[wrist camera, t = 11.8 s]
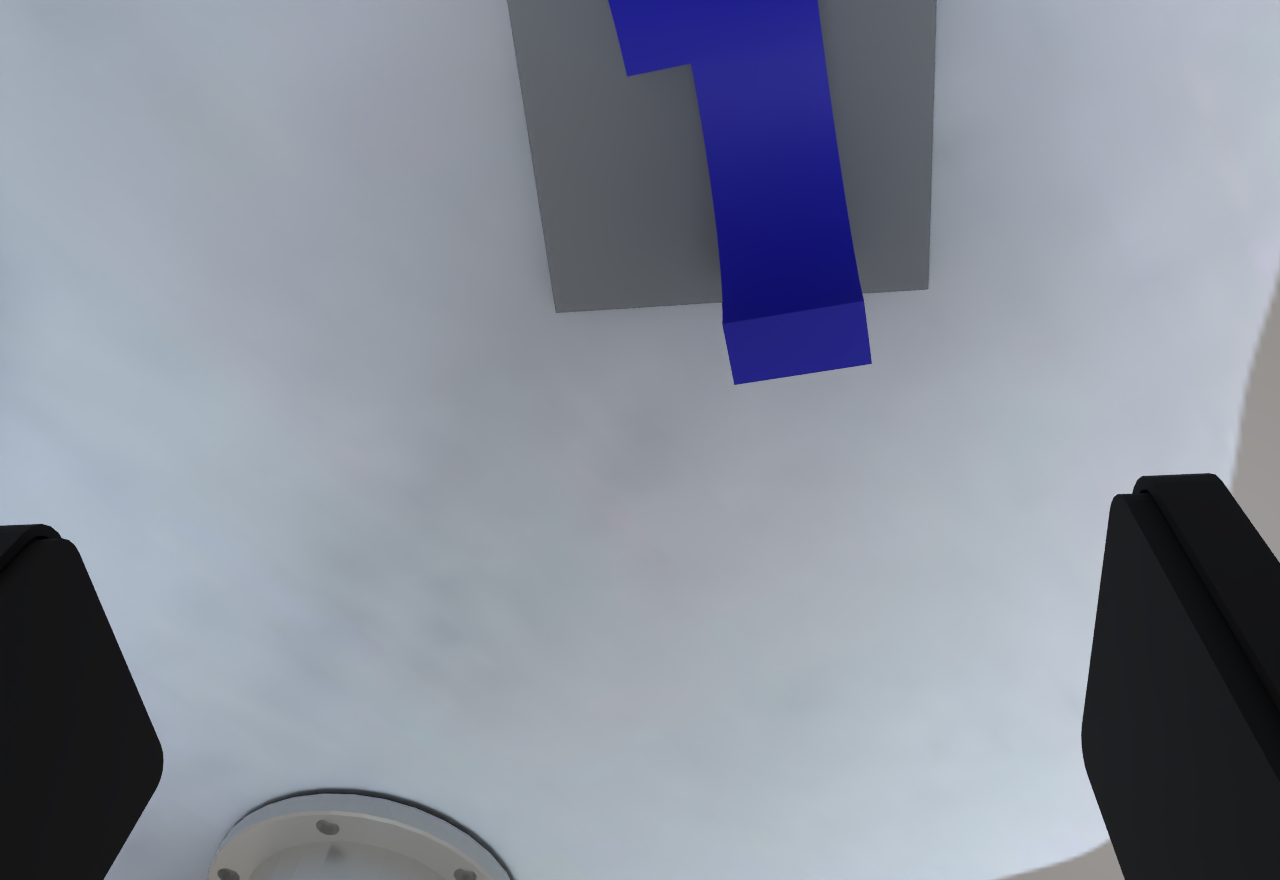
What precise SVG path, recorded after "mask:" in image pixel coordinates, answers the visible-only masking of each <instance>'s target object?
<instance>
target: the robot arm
mask: <svg viewBox="0 0 1280 880" xmlns="http://www.w3.org/2000/svg"><path fill="white" fill-rule="evenodd" d="M1081 739H1082V752H1083V758H1084V764H1085V768H1086V771H1087V775H1088V777H1089V780H1090V783H1091V786H1092V789H1093V791H1094V794H1095V797H1096V800H1097V803H1098V805H1099V808H1100V811H1101V814H1102V817H1103V819H1104V822H1105V825H1106V828H1107V831H1108V833H1109V836H1110V839H1111V842H1112V844H1113V847H1114V850H1115V853H1116V856H1117V859H1118V861H1119V864H1120V867H1121V870H1122V873H1123V875H1124V878H1125V880H1280V563H1279V561H1278V560H1277V558H1276V557H1275V556H1274V554H1273V553H1272V552H1271V550H1270V549H1269V547H1268V546H1267V544H1266V543H1265V541H1264V540H1263V539H1262V537H1261V536H1260V534H1259V533H1258V532H1257V530H1256V529H1255V527H1254V526H1253V524H1252V523H1251V522H1250V520H1249V519H1248V517H1247V516H1246V515H1245V513H1244V512H1243V510H1242V509H1241V507H1240V506H1239V505H1238V503H1237V502H1236V500H1235V499H1234V497H1233V496H1232V495H1231V493H1230V492H1229V490H1228V489H1227V487H1226V486H1225V485H1224V483H1223V482H1222V481H1221V480H1220V479H1219V478H1218V477H1217V476H1216V475H1215V474H1210V473H1204V474H1181V475H1158V476H1142V477H1141V478H1139V479H1138V480H1137V482H1136V484H1135V486H1134V489H1133V493H1132V494H1117V495H1116V496H1115V497H1114V498H1113V501H1112V503H1111V508H1110V513H1109V521H1108V529H1107V536H1106V544H1105V552H1104V559H1103V567H1102V575H1101V583H1100V590H1099V598H1098V606H1097V614H1096V621H1095V629H1094V637H1093V644H1092V652H1091V660H1090V668H1089V675H1088V683H1087V691H1086V698H1085V706H1084V714H1083V722H1082V733H1081ZM162 771H163V751H162V747H161V744H160V742H159V739H158V737H157V734H156V732H155V730H154V727H153V725H152V723H151V720H150V718H149V716H148V713H147V711H146V709H145V706H144V704H143V702H142V699H141V697H140V695H139V692H138V690H137V687H136V685H135V683H134V680H133V678H132V676H131V673H130V671H129V669H128V666H127V664H126V662H125V659H124V657H123V655H122V652H121V650H120V647H119V645H118V643H117V640H116V638H115V636H114V633H113V631H112V629H111V626H110V624H109V622H108V619H107V617H106V615H105V612H104V610H103V608H102V605H101V603H100V600H99V598H98V596H97V593H96V591H95V589H94V586H93V584H92V582H91V579H90V577H89V575H88V572H87V570H86V568H85V565H84V563H83V560H82V558H81V556H80V553H79V552H78V550H77V548H76V546H75V545H74V544H73V543H72V542H70V541H69V540H66V539H63V538H61V536H60V535H59V533H58V532H57V531H55V530H54V529H53V528H52V527H51V526H47V525H44V524H31V525H8V526H0V880H103V879H104V878H105V876H106V874H107V873H108V871H109V869H110V867H111V866H112V864H113V862H114V861H115V859H116V857H117V855H118V854H119V852H120V850H121V849H122V847H123V845H124V843H125V842H126V840H127V838H128V836H129V835H130V833H131V831H132V830H133V828H134V826H135V824H136V823H137V821H138V819H139V818H140V816H141V814H142V812H143V811H144V809H145V807H146V806H147V804H148V802H149V800H150V799H151V797H152V795H153V793H154V792H155V790H156V788H157V786H158V784H159V782H160V779H161V775H162ZM207 880H510V878H509V876H508V874H507V872H506V871H505V870H504V869H503V868H502V867H501V865H500V864H499V863H498V862H497V861H496V859H495V858H494V857H493V856H492V855H491V854H490V853H489V852H488V851H487V850H486V849H485V848H483V847H482V846H481V845H480V844H479V843H477V842H476V841H475V840H474V839H473V838H471V837H470V836H469V835H468V834H466V833H464V832H463V831H461V830H459V829H458V828H456V827H454V826H453V825H451V824H449V823H448V822H446V821H444V820H442V819H440V818H438V817H436V816H433V815H431V814H429V813H426V812H424V811H422V810H419V809H417V808H414V807H411V806H407V805H404V804H401V803H397V802H394V801H390V800H387V799H382V798H375V797H369V796H362V795H356V794H316V795H307V796H299V797H293V798H289V799H286V800H282V801H279V802H275V803H272V804H268V805H266V806H264V807H262V808H261V809H259V810H257V811H255V812H253V813H251V814H249V815H247V816H246V817H245V818H243V819H242V820H241V821H240V822H239V823H238V824H236V825H235V826H234V827H233V828H232V829H231V830H230V831H229V833H228V834H227V836H226V837H225V839H224V840H223V842H222V843H221V845H220V846H219V849H218V851H217V853H216V855H215V857H214V859H213V861H212V863H211V866H210V868H209V871H208V879H207Z"/></svg>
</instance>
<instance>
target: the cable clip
mask: <svg viewBox="0 0 1280 880" xmlns="http://www.w3.org/2000/svg"><path fill="white" fill-rule="evenodd" d="M608 2H609V6H610V9H611V13H612V17H613V20H614V24H615V28H616V32H617V36H618V40H619V44H620V48H621V53H622V57H623V61H624V65H625V70H626V74H627V77H628V76H633V75H638V74H643V73H648V72H652V71H657V70H662V69H667V68H672V67H677V66H681V65H686V64H691V68H692V73H693V78H694V84H695V89H696V95H697V101H698V107H699V112H700V118H701V124H702V131H703V137H704V143H705V149H706V156H707V163H708V169H709V176H710V183H711V191H712V198H713V206H714V214H715V222H716V231H717V240H718V249H719V260H720V271H721V285H722V308H723V322H722V324H723V329H724V334H725V339H726V344H727V349H728V354H729V359H730V365H731V370H732V375H733V380H734V385H737V384H743V383H750V382H756V381H763V380H769V379H776V378H782V377H789V376H795V375H802V374H808V373H815V372H821V371H828V370H834V369H841V368H847V367H854V366H860V365H867V364H872V361H871V353H870V346H869V338H868V330H867V322H866V314H865V306H864V299H863V295H862V290H861V285H860V280H859V275H858V269H857V264H856V258H855V253H854V247H853V241H852V235H851V229H850V223H849V217H848V211H847V205H846V198H845V192H844V186H843V179H842V173H841V166H840V159H839V153H838V146H837V139H836V132H835V125H834V118H833V111H832V104H831V97H830V90H829V83H828V75H827V68H826V61H825V53H824V46H823V38H822V30H821V23H820V15H819V7H818V0H608Z"/></svg>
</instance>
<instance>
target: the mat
mask: <svg viewBox="0 0 1280 880" xmlns="http://www.w3.org/2000/svg"><path fill="white" fill-rule="evenodd" d="M936 1H937V0H818V7H819V15H820V23H821V30H822V38H823V46H824V53H825V61H826V68H827V75H828V83H829V90H830V97H831V104H832V111H833V118H834V125H835V132H836V139H837V146H838V153H839V159H840V166H841V173H842V179H843V186H844V192H845V198H846V205H847V211H848V217H849V223H850V229H851V235H852V241H853V247H854V253H855V258H856V264H857V269H858V275H859V280H860V285H861V290H862V293H877V292H893V291H909V290H925V289H928V282H929V247H930V212H931V177H932V142H933V107H934V71H935V36H936ZM507 2H508V8H509V14H510V21H511V27H512V34H513V40H514V46H515V53H516V59H517V66H518V72H519V78H520V85H521V91H522V98H523V104H524V111H525V117H526V123H527V130H528V136H529V143H530V149H531V155H532V162H533V168H534V175H535V181H536V187H537V194H538V200H539V207H540V213H541V219H542V226H543V232H544V239H545V245H546V251H547V258H548V264H549V271H550V277H551V283H552V290H553V296H554V303H555V309H556V313H560V312H576V311H592V310H608V309H624V308H640V307H655V306H671V305H687V304H703V303H719V302H722V285H721V271H720V260H719V249H718V240H717V231H716V222H715V214H714V206H713V198H712V191H711V183H710V176H709V169H708V163H707V156H706V149H705V143H704V137H703V131H702V124H701V118H700V112H699V107H698V101H697V95H696V89H695V84H694V78H693V73H692V68H691V64H686V65H681V66H677V67H672V68H667V69H662V70H657V71H652V72H648V73H643V74H638V75H633V76H628V77H627V74H626V70H625V65H624V61H623V57H622V53H621V48H620V44H619V40H618V36H617V32H616V28H615V24H614V20H613V17H612V13H611V9H610V6H609V2H608V0H507Z"/></svg>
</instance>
